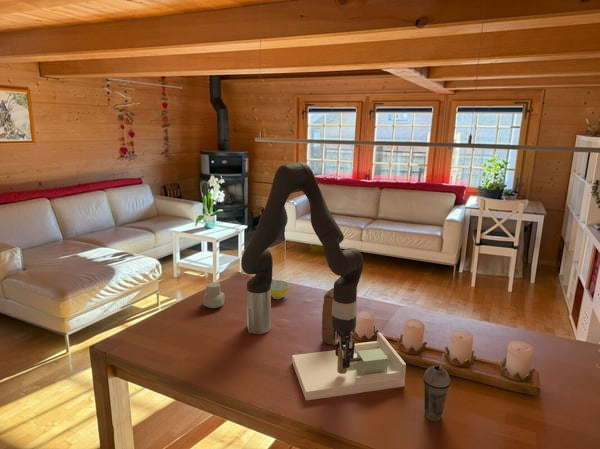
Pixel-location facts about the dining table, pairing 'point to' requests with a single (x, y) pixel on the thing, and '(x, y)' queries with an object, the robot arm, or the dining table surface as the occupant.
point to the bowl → (279, 289)
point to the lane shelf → (328, 382)
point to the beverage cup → (435, 391)
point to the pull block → (366, 361)
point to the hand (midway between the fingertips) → (342, 361)
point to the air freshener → (213, 296)
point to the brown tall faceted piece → (327, 318)
